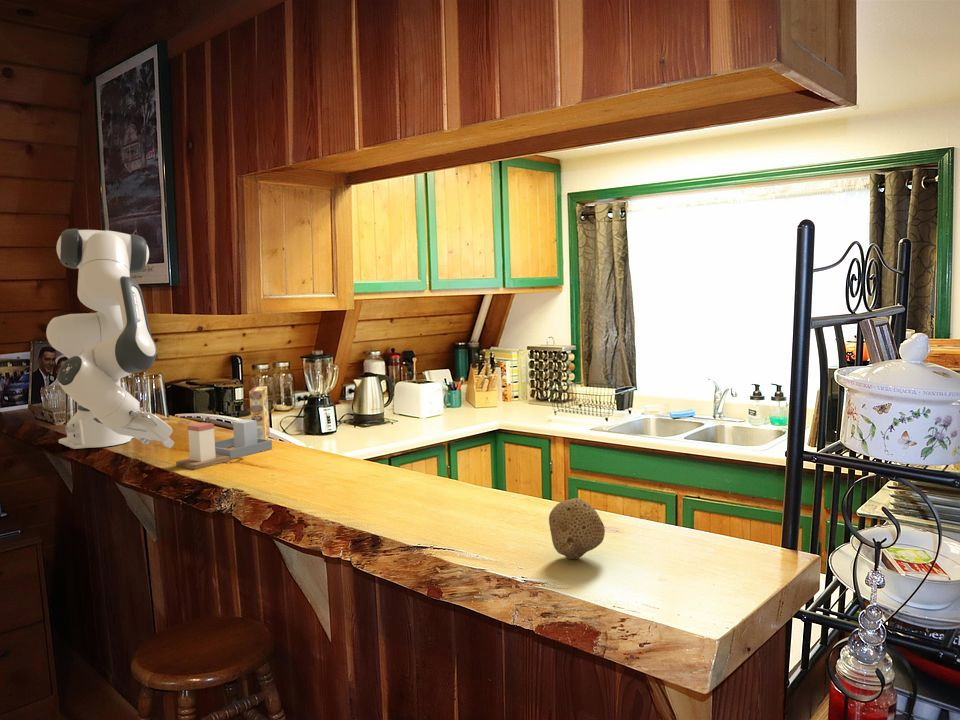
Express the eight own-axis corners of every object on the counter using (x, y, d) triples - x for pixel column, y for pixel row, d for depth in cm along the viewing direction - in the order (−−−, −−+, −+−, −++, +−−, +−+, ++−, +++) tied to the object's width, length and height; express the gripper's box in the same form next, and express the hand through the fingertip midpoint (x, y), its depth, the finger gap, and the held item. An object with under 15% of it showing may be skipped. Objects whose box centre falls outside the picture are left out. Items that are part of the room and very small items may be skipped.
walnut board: (176, 466, 199) (175, 461, 199) (210, 457, 208) (210, 453, 207) (195, 469, 194) (195, 464, 194) (229, 460, 203) (229, 456, 203)
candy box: (266, 441, 228) (263, 390, 226) (251, 442, 227) (248, 390, 225) (270, 435, 236) (267, 386, 235) (256, 436, 236) (253, 386, 234)
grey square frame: (199, 454, 212) (199, 445, 212) (241, 444, 224) (240, 435, 224) (230, 459, 205) (230, 450, 205) (272, 448, 217) (271, 440, 216)
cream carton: (189, 459, 200) (187, 425, 199) (204, 456, 204) (202, 422, 203) (200, 461, 198) (198, 426, 197) (215, 458, 202) (213, 423, 201)
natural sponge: (606, 550, 130) (605, 492, 129) (603, 570, 121) (602, 508, 120) (552, 548, 132) (551, 491, 131) (546, 567, 123) (545, 506, 122)
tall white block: (234, 449, 217) (233, 421, 216) (247, 446, 220) (246, 419, 220) (245, 451, 214) (243, 423, 213) (258, 448, 218) (256, 420, 217)
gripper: (153, 402, 177) (192, 436, 186) (103, 397, 189) (143, 429, 198) (136, 425, 174) (177, 458, 183) (87, 417, 185) (128, 449, 194)
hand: (159, 443), depth 190 cm, fingers open, 8 cm apart
